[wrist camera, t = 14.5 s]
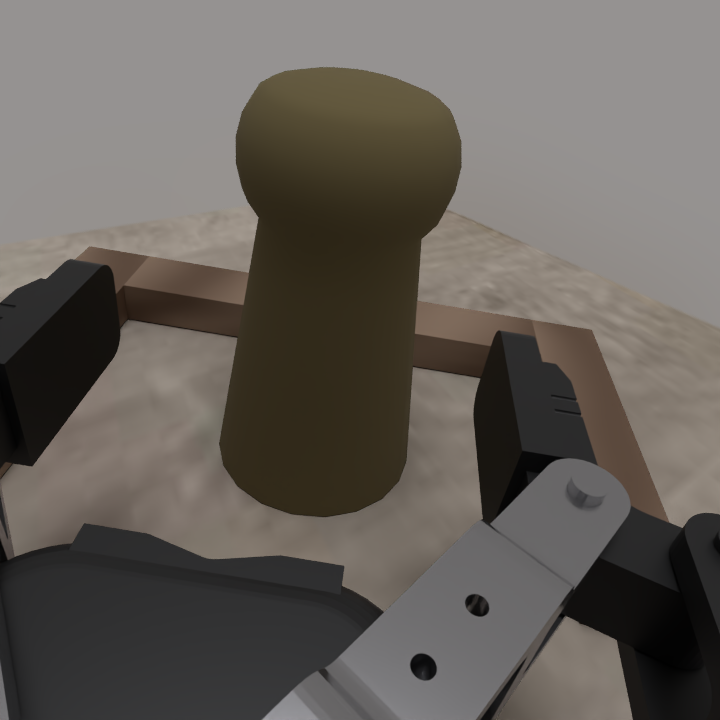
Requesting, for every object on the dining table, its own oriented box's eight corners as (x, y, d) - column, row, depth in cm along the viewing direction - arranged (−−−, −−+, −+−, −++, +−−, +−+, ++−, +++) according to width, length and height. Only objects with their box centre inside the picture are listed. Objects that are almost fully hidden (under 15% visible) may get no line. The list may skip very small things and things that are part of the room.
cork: (196, 402, 20) (183, 39, 14) (355, 370, 23) (406, 53, 16) (256, 543, 16) (277, 118, 10) (442, 483, 19) (556, 118, 12)
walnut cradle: (-129, 504, 15) (-150, 463, 15) (94, 278, 26) (89, 246, 25) (675, 639, 15) (703, 606, 14) (579, 359, 25) (591, 329, 25)
